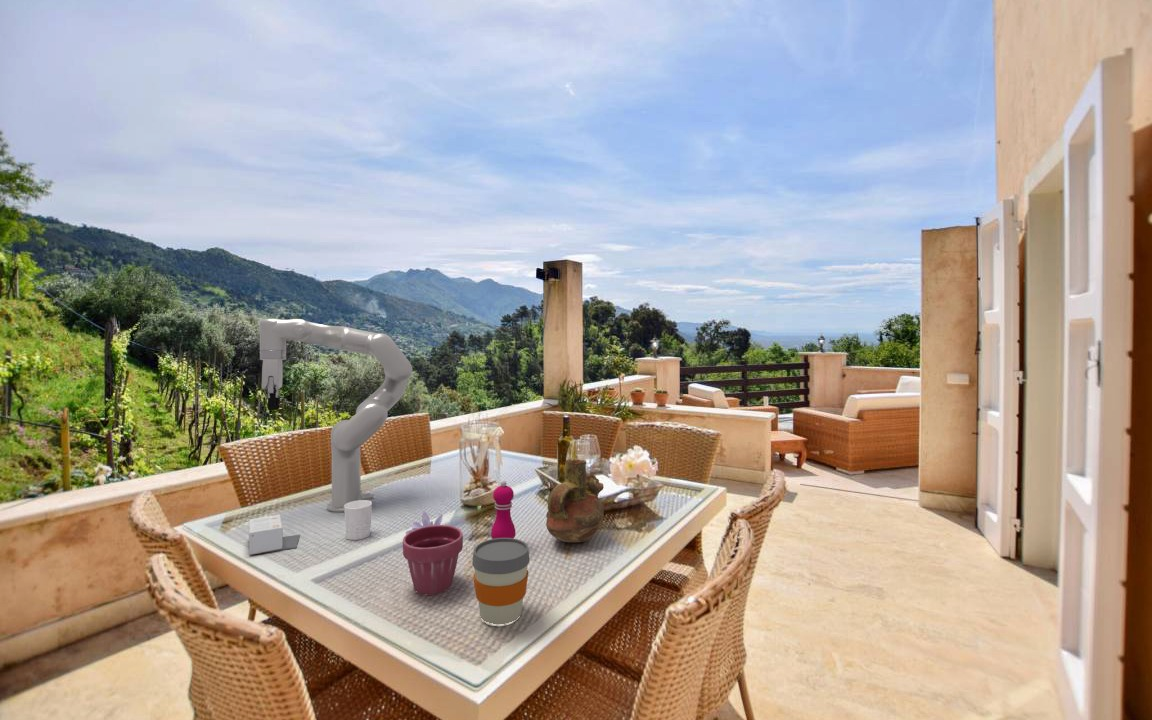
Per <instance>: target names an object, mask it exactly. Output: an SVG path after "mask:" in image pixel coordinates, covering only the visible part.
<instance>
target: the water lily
mask: <svg viewBox="0 0 1152 720" xmlns="http://www.w3.org/2000/svg"><path fill="white" fill-rule="evenodd" d="M443 516H444V514H440V515H438V517H437V518H436V519H435V521H434V523H433V521H431V520H430V516H429V515H428V513H427V512H426V511H423V512H422V514H421V523H422V524H421V523H419V522H417V521H416V522H415V521H413V522H411V529H410V530H407V531H405V535H406V534H408V533H409V532H411V531H413V530H416V529H419V528H422V527H426V526H433V525H442V522H443Z"/></svg>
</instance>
